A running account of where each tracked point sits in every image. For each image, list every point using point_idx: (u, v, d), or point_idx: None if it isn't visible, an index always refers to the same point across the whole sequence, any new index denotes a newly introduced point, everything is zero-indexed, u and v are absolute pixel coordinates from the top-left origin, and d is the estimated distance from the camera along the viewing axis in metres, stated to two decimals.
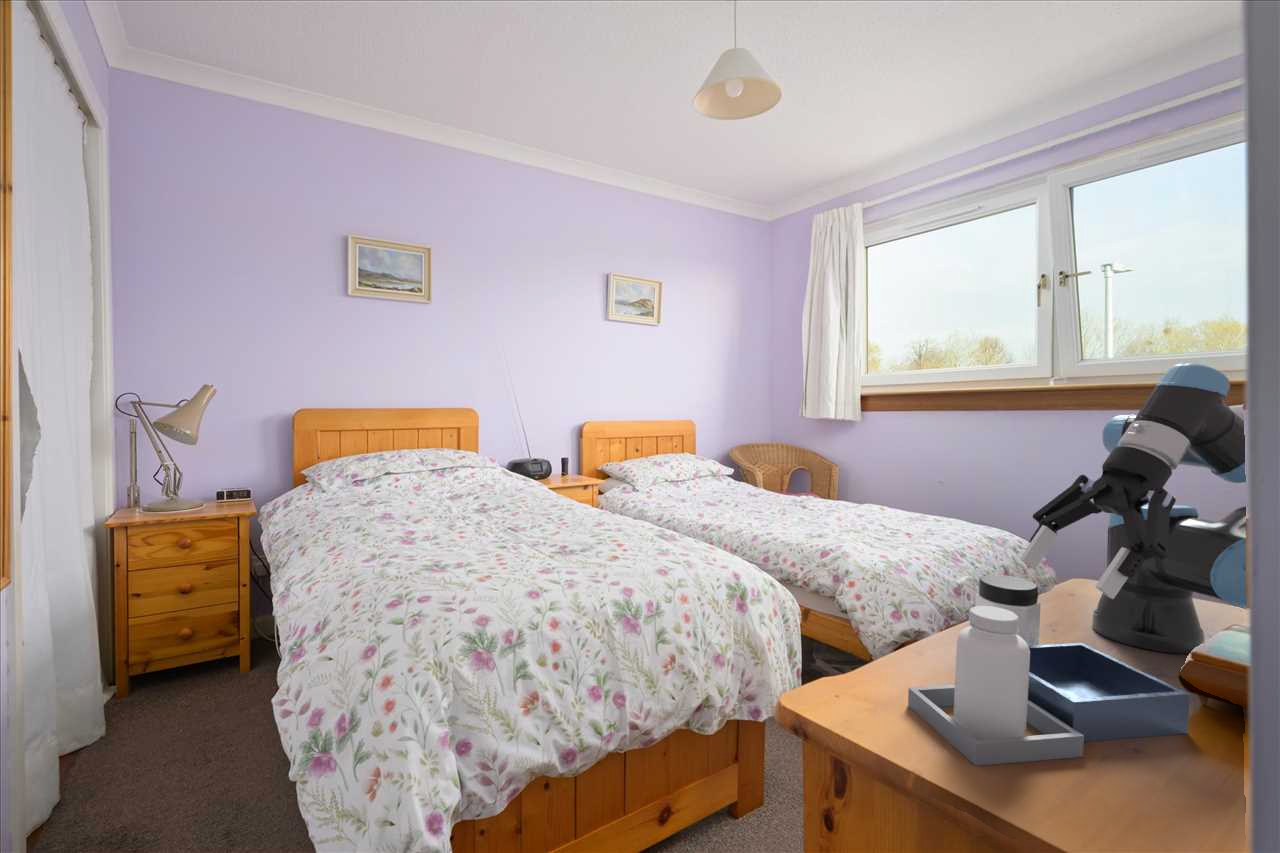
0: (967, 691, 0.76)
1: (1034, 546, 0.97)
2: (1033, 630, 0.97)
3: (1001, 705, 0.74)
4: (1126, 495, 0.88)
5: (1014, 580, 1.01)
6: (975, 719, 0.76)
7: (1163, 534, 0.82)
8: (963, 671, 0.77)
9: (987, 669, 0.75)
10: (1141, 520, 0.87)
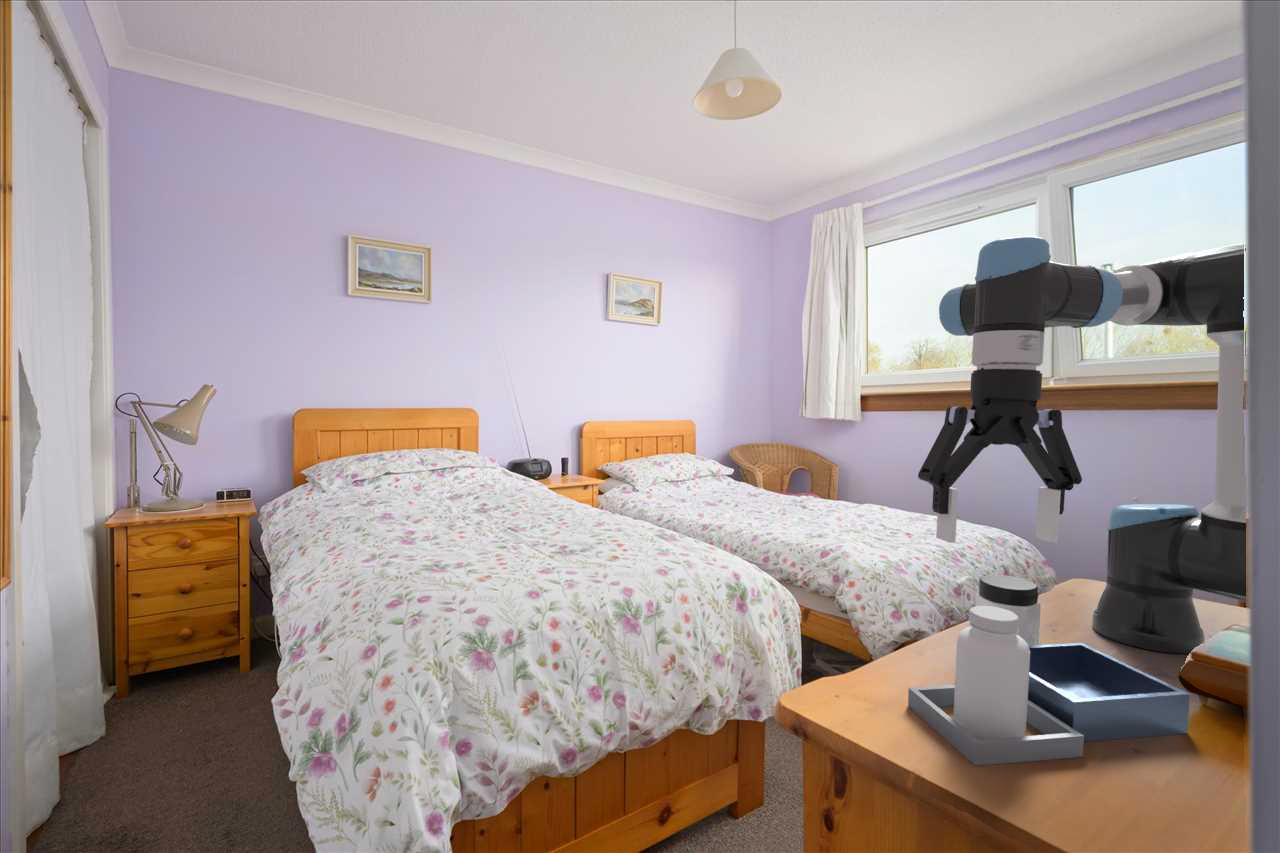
0: (967, 691, 0.76)
1: (955, 518, 0.75)
2: (1033, 630, 0.97)
3: (1001, 705, 0.74)
4: None
5: (1014, 580, 1.01)
6: (975, 719, 0.76)
7: None
8: (963, 671, 0.77)
9: (987, 669, 0.75)
10: None
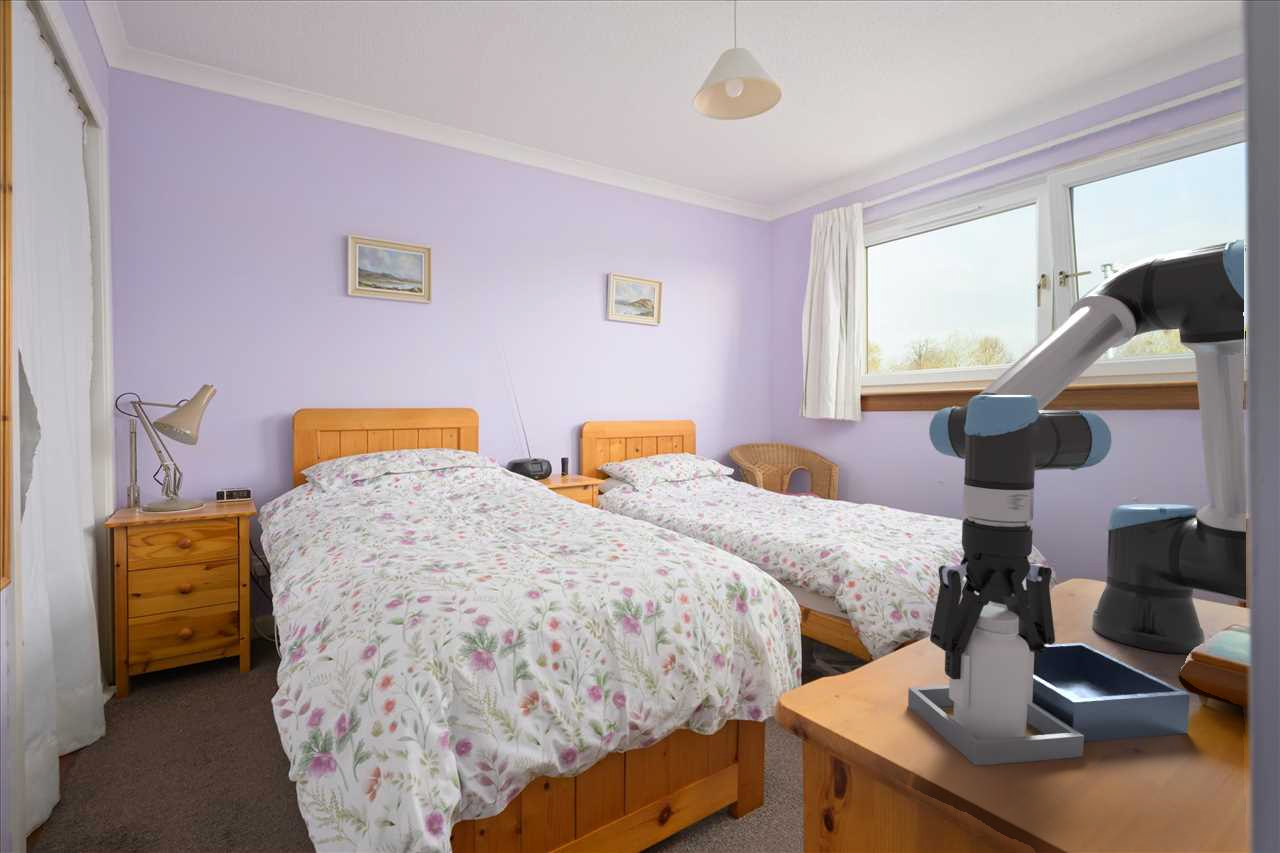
0: None
1: (967, 684, 0.76)
2: None
3: (1001, 704, 0.74)
4: (1022, 579, 0.76)
5: None
6: (974, 719, 0.76)
7: None
8: None
9: (987, 669, 0.75)
10: None
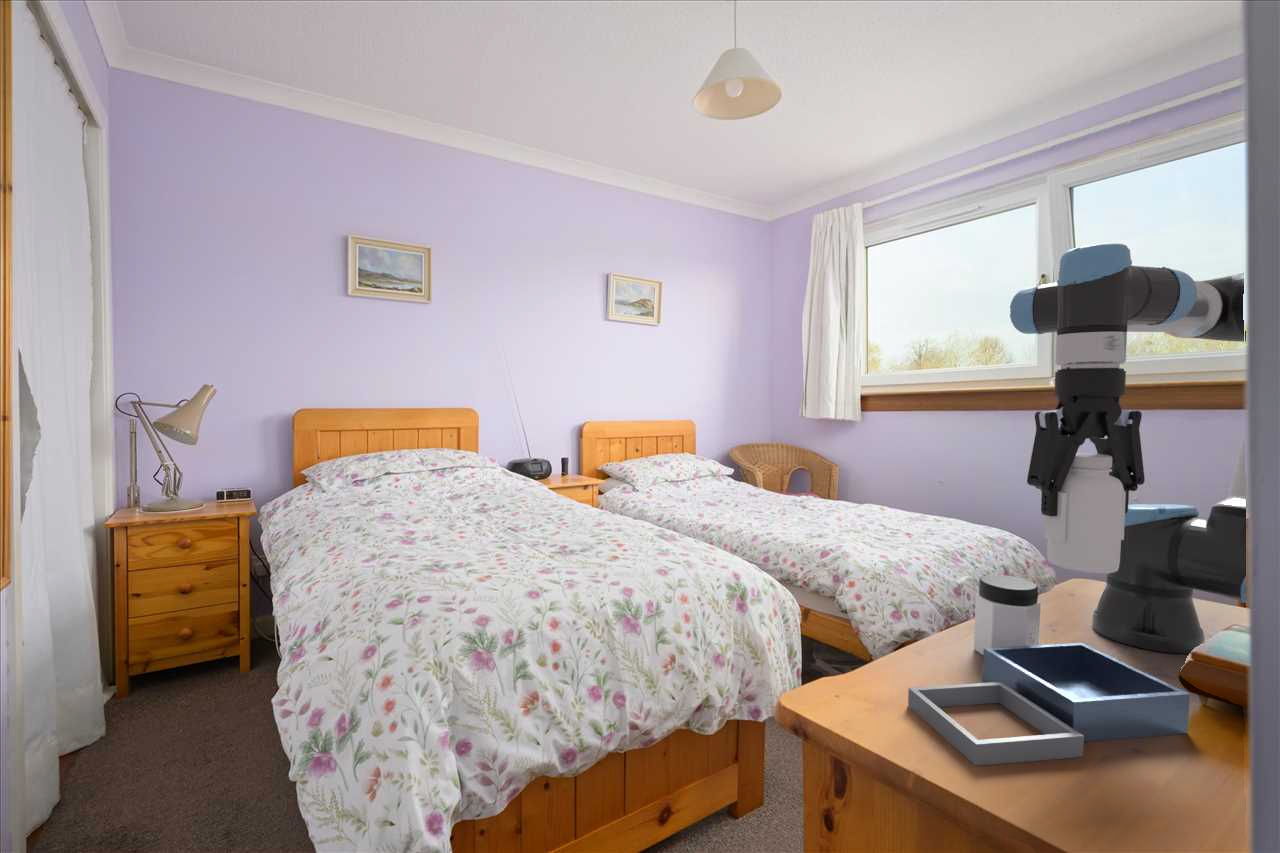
0: None
1: (1064, 520, 0.81)
2: (1033, 630, 0.97)
3: (1098, 535, 0.79)
4: (1115, 421, 0.81)
5: (1014, 580, 1.01)
6: (1072, 552, 0.81)
7: None
8: None
9: (1084, 502, 0.80)
10: None
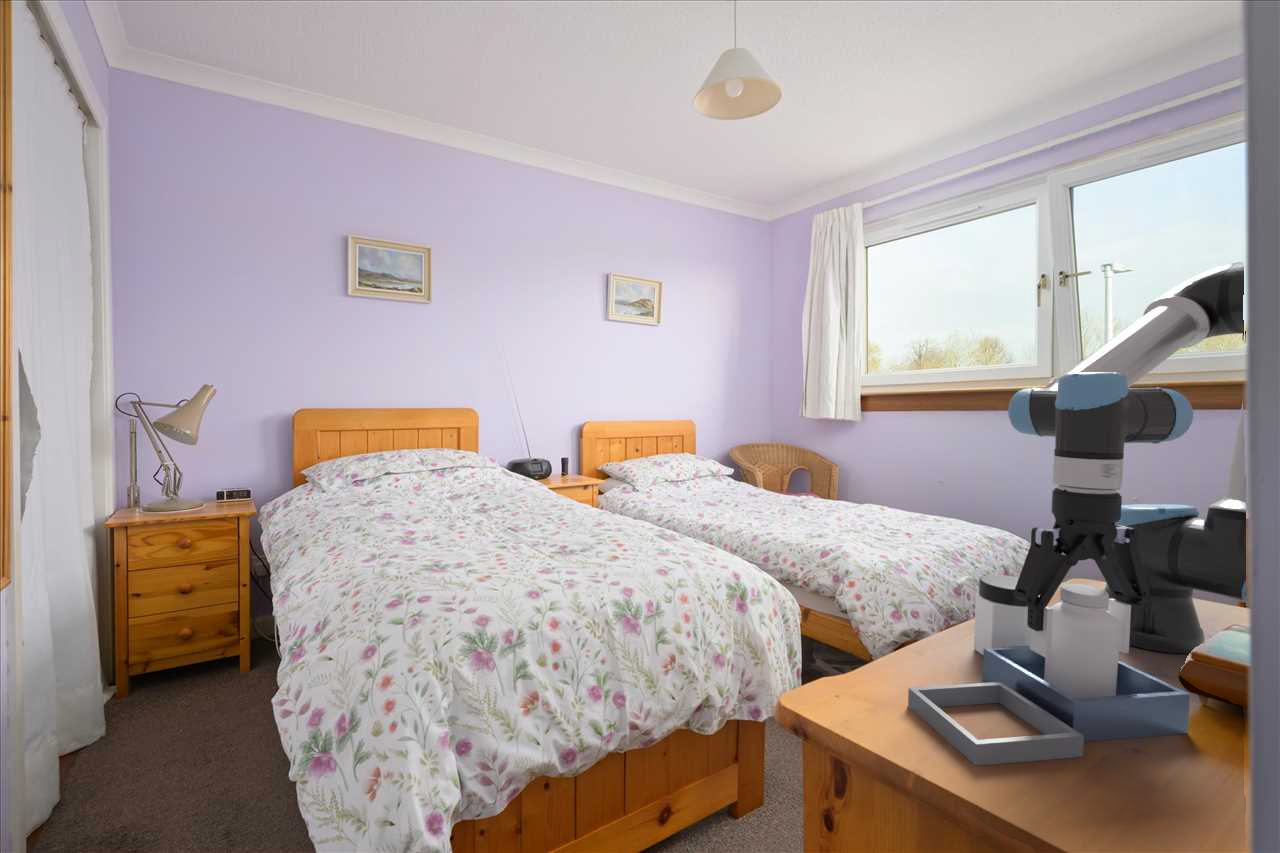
0: (1061, 662, 0.83)
1: (1050, 635, 0.82)
2: None
3: (1095, 673, 0.80)
4: None
5: (1014, 580, 1.01)
6: (1068, 687, 0.82)
7: None
8: (1056, 644, 0.83)
9: (1081, 640, 0.81)
10: None
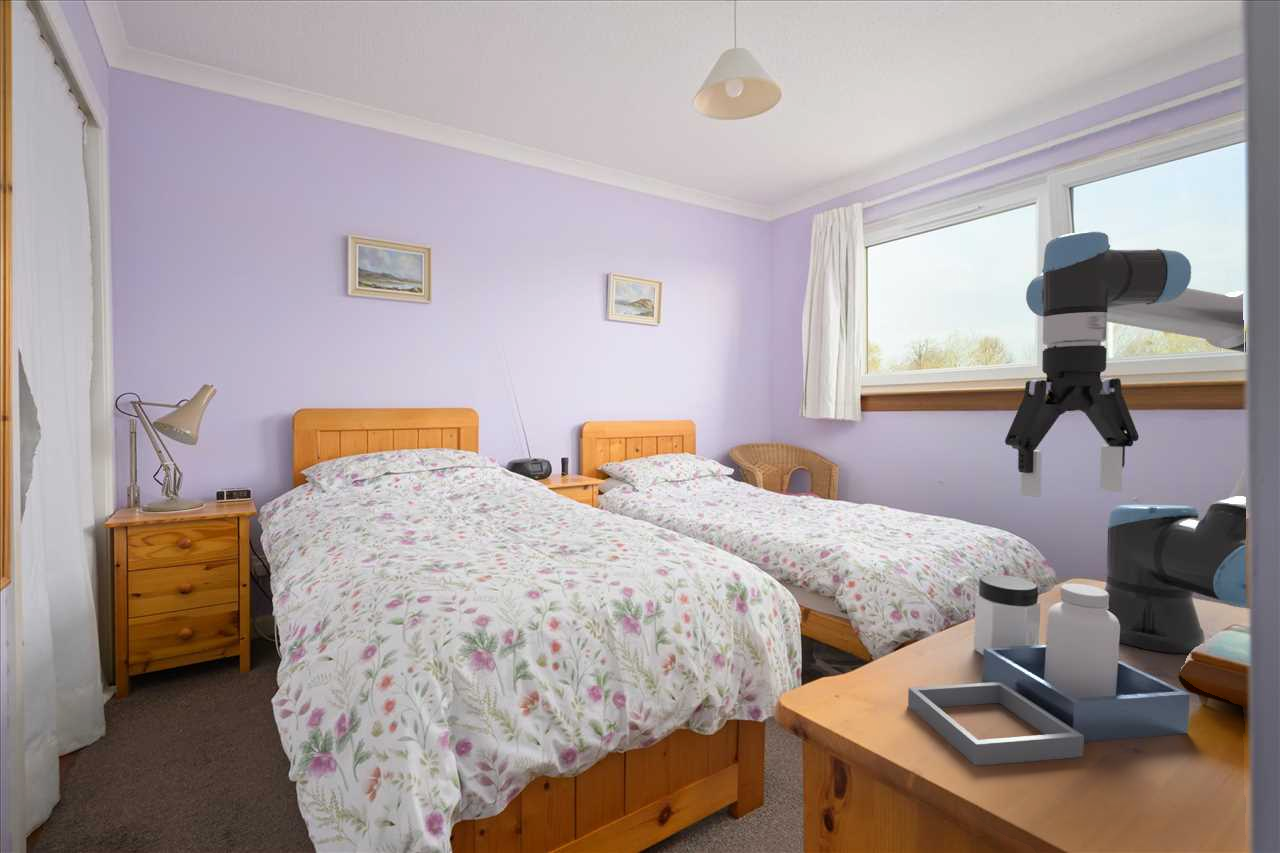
0: (1061, 662, 0.83)
1: (1039, 476, 0.88)
2: (1033, 630, 0.97)
3: (1095, 673, 0.80)
4: None
5: (1014, 580, 1.01)
6: (1068, 687, 0.82)
7: None
8: (1057, 644, 0.83)
9: (1081, 640, 0.81)
10: None
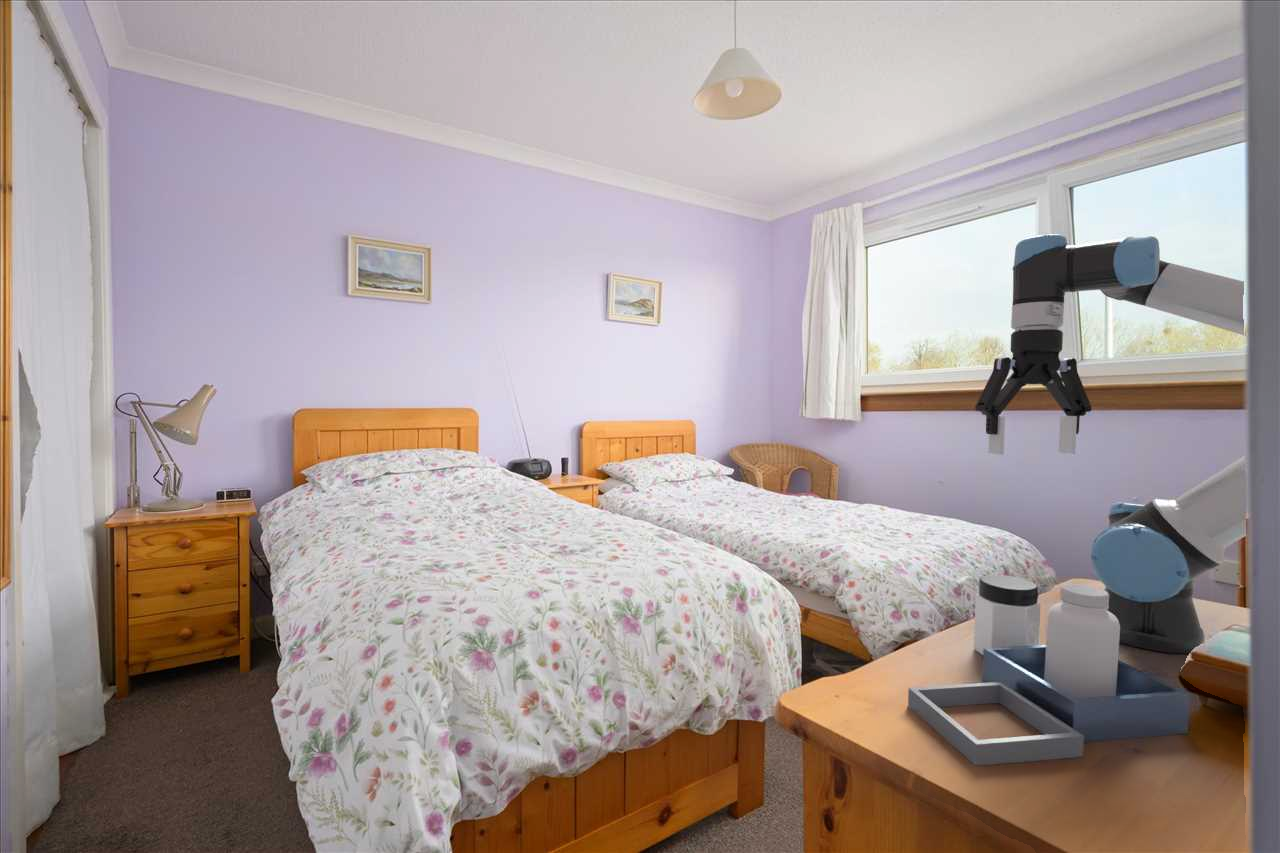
0: (1061, 662, 0.83)
1: (1002, 437, 1.06)
2: (1033, 630, 0.97)
3: (1095, 673, 0.80)
4: None
5: (1014, 580, 1.01)
6: (1068, 687, 0.82)
7: None
8: (1056, 644, 0.83)
9: (1081, 640, 0.81)
10: None
